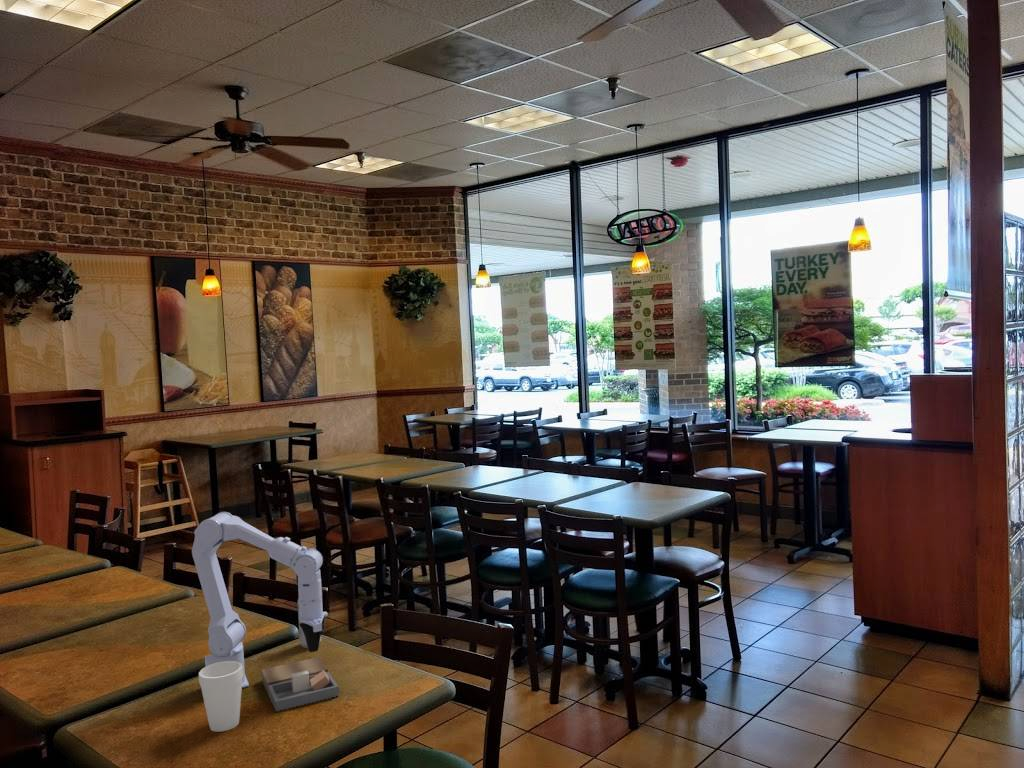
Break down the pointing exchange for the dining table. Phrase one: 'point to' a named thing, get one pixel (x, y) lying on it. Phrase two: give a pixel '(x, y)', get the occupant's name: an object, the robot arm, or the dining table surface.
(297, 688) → the tile
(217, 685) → the foam cup
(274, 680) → the board
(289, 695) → the box
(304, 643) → the energy drink can
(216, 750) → the dining table surface
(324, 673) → the tile
